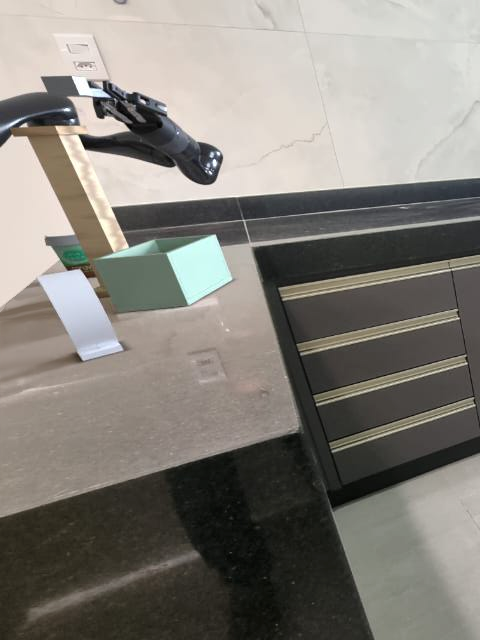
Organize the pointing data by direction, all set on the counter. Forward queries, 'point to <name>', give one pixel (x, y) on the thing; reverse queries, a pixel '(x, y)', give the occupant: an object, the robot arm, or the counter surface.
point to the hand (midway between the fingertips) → (97, 85)
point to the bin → (163, 272)
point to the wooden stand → (77, 190)
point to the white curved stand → (81, 313)
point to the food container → (70, 253)
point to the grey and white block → (71, 87)
